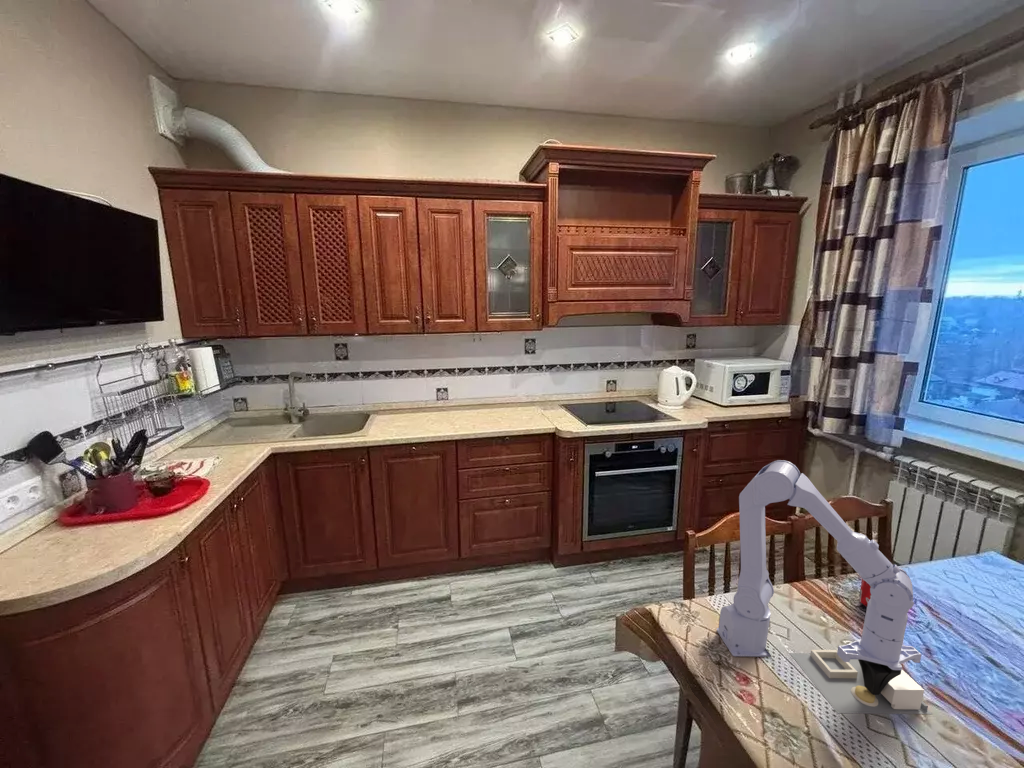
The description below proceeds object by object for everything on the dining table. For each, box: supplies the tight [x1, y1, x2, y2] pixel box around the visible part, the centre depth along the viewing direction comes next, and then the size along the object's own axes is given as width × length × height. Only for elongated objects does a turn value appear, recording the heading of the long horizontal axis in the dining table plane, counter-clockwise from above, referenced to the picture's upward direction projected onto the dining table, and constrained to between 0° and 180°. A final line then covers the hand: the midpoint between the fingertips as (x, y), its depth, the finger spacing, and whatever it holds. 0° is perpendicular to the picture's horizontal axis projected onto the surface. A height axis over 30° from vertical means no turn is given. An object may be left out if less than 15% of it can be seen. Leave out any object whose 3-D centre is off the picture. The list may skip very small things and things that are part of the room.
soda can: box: [858, 578, 871, 608], centre depth 108 cm, size 7×7×12 cm
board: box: [789, 649, 933, 715], centre depth 86 cm, size 18×14×3 cm
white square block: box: [881, 669, 925, 710], centre depth 82 cm, size 6×6×4 cm
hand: (871, 690), depth 83 cm, fingers closed
